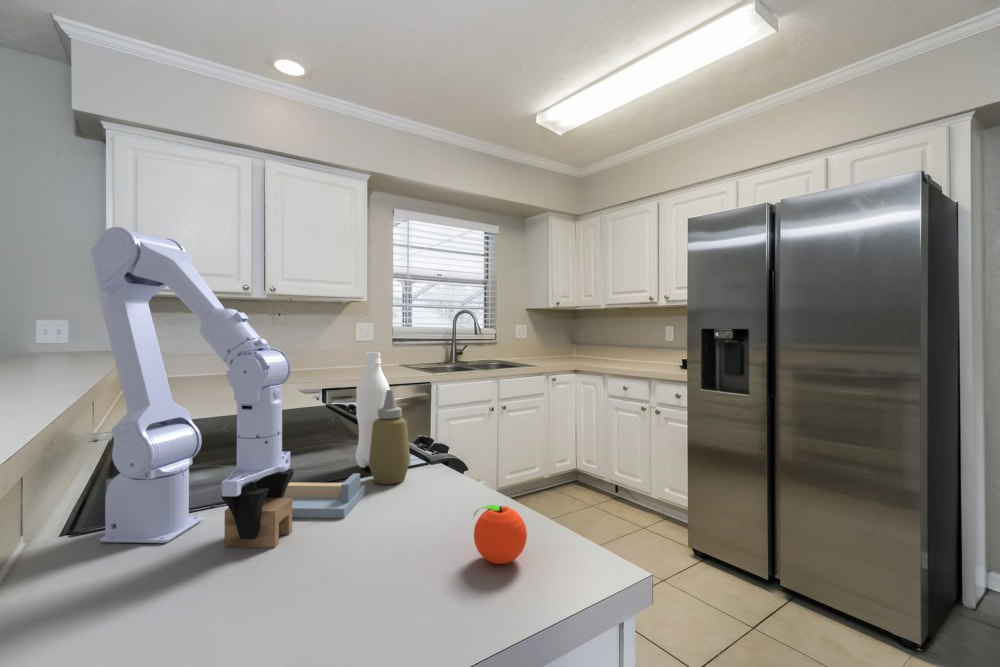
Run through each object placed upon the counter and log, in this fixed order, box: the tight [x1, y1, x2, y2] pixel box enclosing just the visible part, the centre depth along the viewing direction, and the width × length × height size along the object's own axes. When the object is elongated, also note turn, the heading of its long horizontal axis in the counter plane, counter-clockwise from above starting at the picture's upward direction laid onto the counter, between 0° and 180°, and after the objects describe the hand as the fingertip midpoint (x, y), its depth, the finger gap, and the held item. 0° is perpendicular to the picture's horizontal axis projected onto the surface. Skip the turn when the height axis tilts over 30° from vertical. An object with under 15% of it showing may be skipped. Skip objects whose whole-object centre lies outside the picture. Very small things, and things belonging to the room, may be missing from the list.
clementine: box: [472, 504, 528, 565], centre depth 60 cm, size 8×7×7 cm
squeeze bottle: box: [368, 389, 411, 485], centre depth 91 cm, size 8×8×18 cm
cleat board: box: [283, 472, 366, 519], centre depth 78 cm, size 14×11×4 cm
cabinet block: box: [224, 498, 293, 549], centre depth 65 cm, size 7×5×6 cm
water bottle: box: [355, 351, 391, 468], centre depth 100 cm, size 7×7×25 cm
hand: (259, 529), depth 65 cm, fingers closed on cabinet block, 5 cm apart
